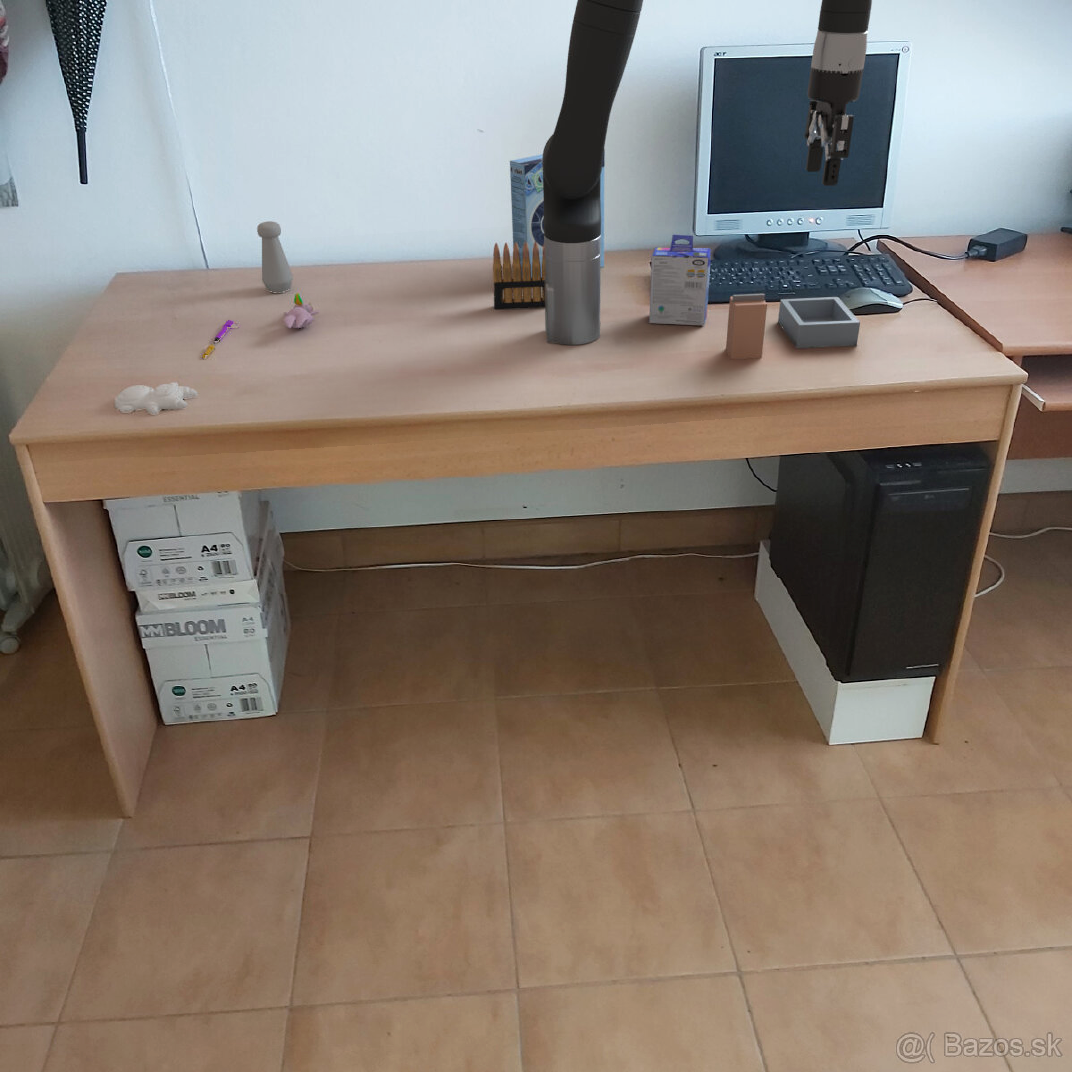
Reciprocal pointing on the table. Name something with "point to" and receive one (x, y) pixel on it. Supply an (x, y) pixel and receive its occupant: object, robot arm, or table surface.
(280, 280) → the salt shaker
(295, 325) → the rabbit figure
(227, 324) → the marker pen
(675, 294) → the ink cartridge box
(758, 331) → the tan slab
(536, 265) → the ammunition clip
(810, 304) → the organizer bin
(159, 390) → the white flat lumpy piece
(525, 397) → the table surface
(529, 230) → the blue fan box
